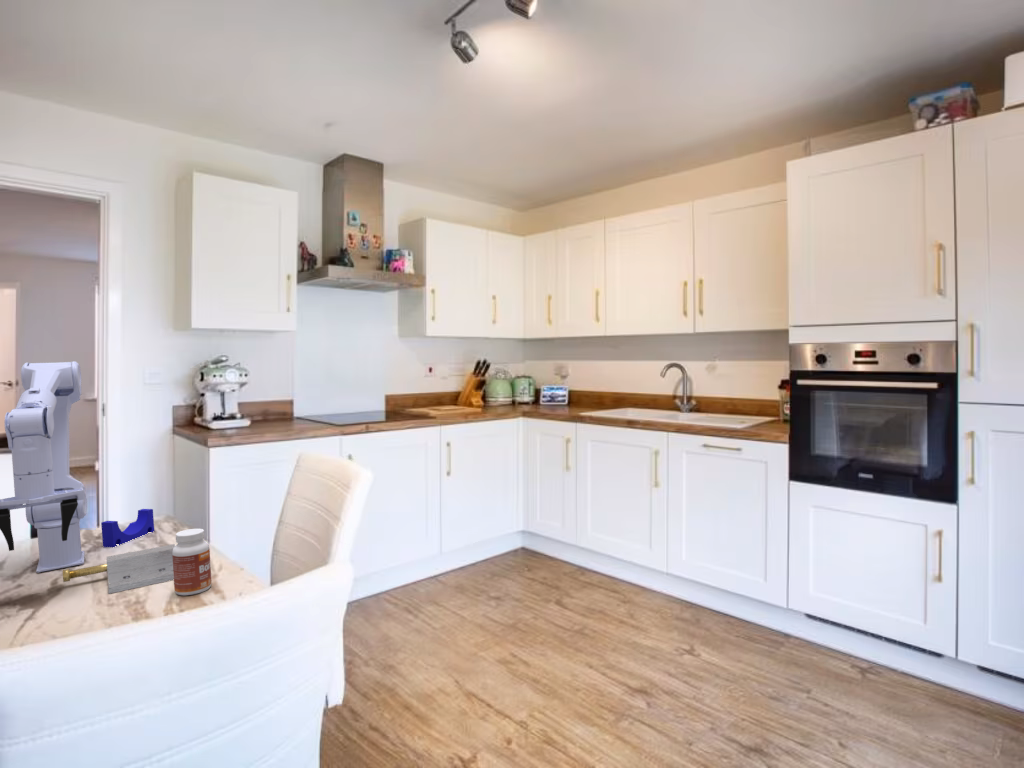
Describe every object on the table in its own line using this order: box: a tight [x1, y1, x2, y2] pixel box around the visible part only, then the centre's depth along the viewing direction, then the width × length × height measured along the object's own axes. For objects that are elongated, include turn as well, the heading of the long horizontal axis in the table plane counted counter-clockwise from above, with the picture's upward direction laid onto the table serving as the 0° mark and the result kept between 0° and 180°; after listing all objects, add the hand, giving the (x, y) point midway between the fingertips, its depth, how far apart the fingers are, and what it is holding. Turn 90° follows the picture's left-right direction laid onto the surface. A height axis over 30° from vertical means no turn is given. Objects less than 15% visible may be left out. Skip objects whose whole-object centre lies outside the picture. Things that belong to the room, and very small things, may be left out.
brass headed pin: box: [62, 563, 107, 583], centre depth 117 cm, size 13×2×2 cm, turn 125°
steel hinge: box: [105, 543, 176, 594], centre depth 121 cm, size 12×20×4 cm, turn 35°
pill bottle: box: [172, 528, 212, 597], centre depth 110 cm, size 6×6×11 cm
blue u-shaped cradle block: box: [100, 508, 155, 548], centre depth 143 cm, size 12×4×6 cm, turn 169°
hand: (38, 544), depth 109 cm, fingers open, 7 cm apart
